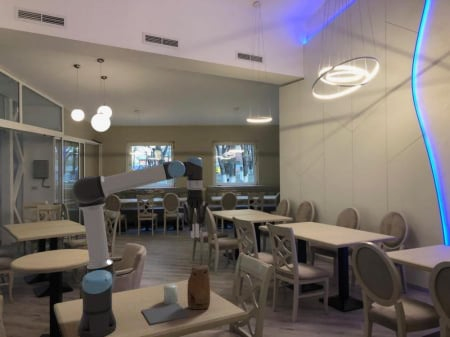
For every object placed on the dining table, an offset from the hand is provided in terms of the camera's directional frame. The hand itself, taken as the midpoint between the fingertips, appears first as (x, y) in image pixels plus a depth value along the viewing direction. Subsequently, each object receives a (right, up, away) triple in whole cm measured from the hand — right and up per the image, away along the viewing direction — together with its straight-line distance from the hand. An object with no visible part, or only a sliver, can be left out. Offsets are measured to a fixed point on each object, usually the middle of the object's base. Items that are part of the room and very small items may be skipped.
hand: (194, 237), depth 165 cm
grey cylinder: (-13, -35, +8) cm, 38 cm away
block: (+2, -35, +1) cm, 35 cm away
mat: (-13, -34, -7) cm, 38 cm away
